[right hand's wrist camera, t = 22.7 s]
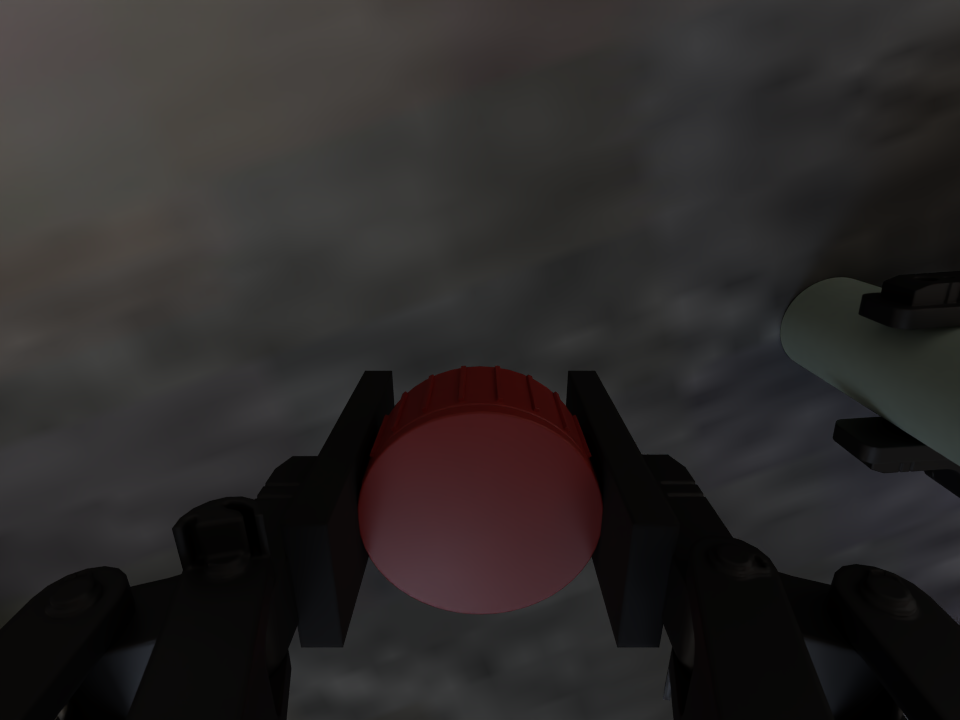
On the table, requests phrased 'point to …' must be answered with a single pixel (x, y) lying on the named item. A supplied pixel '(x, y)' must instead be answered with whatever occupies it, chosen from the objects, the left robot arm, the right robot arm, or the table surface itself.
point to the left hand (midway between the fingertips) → (863, 378)
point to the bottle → (879, 361)
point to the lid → (480, 493)
